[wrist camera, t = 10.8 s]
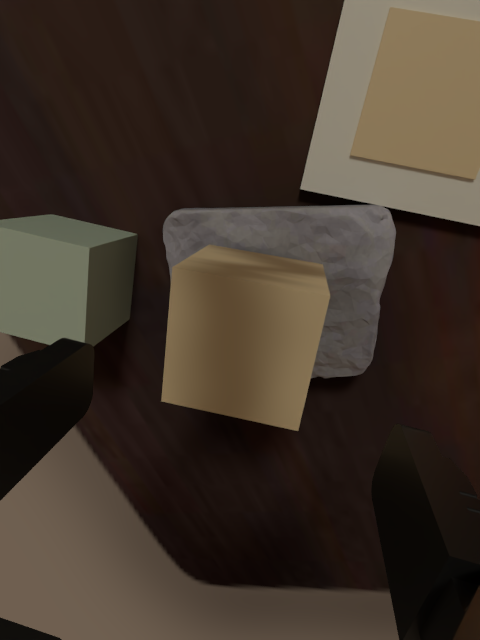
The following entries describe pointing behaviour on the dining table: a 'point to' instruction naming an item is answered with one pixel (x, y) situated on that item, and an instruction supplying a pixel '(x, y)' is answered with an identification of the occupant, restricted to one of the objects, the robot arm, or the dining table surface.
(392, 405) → the dining table surface
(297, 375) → the maple cube
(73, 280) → the sage green cube
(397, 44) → the card
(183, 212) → the stone block
